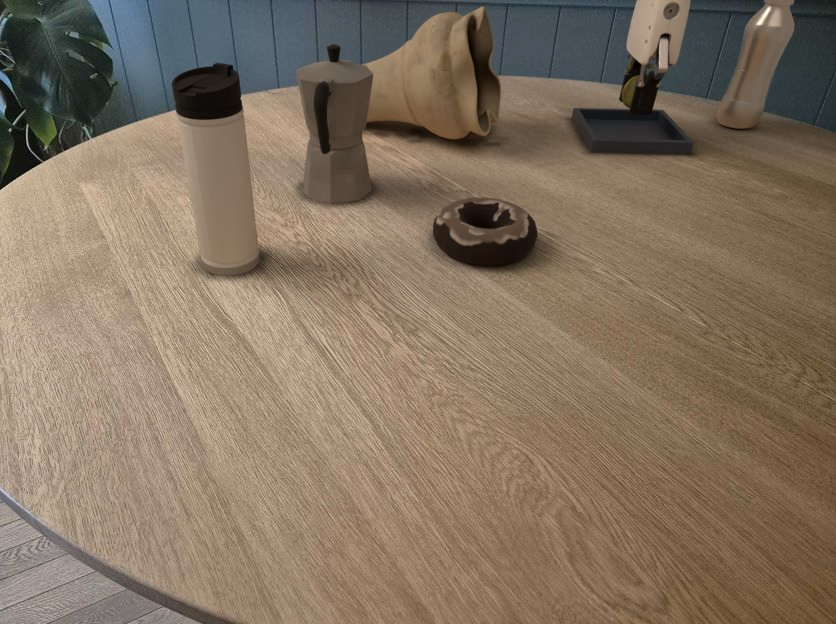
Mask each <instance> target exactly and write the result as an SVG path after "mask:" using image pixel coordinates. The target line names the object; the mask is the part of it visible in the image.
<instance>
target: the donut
mask: <svg viewBox="0 0 836 624" xmlns="http://www.w3.org/2000/svg"><path fill="white" fill-rule="evenodd" d="M432 236H433V238H434V240H435V242H436V244H437V246H438V247H439V249H441V250H442V252H444V253H445V254H447V255H448V256H449V257H451V258H454V259H455V260H457V261H460V262H463V263H467V264H471V265H478V266H485V267H487V266H501V265H502V266H503V265H507V264H512V263H514V262H516V261H519V260H521V259H523V258H524V257H525V256H527V255H528V254H529V253H530V252H532V250H533V248H534V246H535V244H536V241H537V239H538V228H537V224H536V221H535V219H534V218H533V217H532V216H531V214H530V213H529V212H528V211H527V210H526V209H524V208H522V207H521V206H520V205H517V204H515V203H513V202H510V201H508V200H503V199H500V198H495V197H494V198H493V197H468V198H463V199H459V200H456V201H453V202H451V203H449V204H447V205H445V206H444V207H443V208H442V209H440V210H439V212H438V213H437V215H436V216H435V218H434V219H433V223H432Z"/></svg>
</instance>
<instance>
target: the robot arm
mask: <svg viewBox="0 0 836 624" xmlns="http://www.w3.org/2000/svg"><path fill="white" fill-rule="evenodd" d="M634 5H635V6H634V8H633V9H634V10H633V12H632V17H631V20H630V25H629V29H628V34H627V39H626V44H625V45H626V46H625V47H626V51H627V52H628V56H627V58H628V60H627V64H626V66H625V70H624V72H625V74H624V75H623V81H622V85H621V89H620V93H619V94H620V95H619V97H618V100H619V102H620V103H623V100H622V91H623V88H624V86H625V85H626V83H627V82H628V81H629V80H630V79H631V78H632V77H634V76H637V75H640V78H639V84H638V86H635V90H634V94H633V98H632V102H631V106H630V108H629V109H630V110H629V113H630V114H631V115H650V114H651V113H652V110H654V106H655V103H656V99H657V95H658V91H659V88H661V83H662V80H663V78H664V77H665V75H666V74H667V73H668V70H669V67H674V66H675V65H676V64H677V63H678V60H679V57H680V52H681V49H682V44H683V40H684V36H685V31H686V27H687V23H688V17H689V12H690V7H691V0H636V2H635V4H634ZM652 60H653V61H655V63H650V61H652ZM649 69H650V71H649V72H648V70H649Z"/></svg>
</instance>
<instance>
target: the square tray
mask: <svg viewBox="0 0 836 624" xmlns="http://www.w3.org/2000/svg"><path fill="white" fill-rule="evenodd" d="M629 110H630V108H597V107H595V108H593V107H592V108H591V107H573V108H572V114H571V118H570V119H571V122H572V123H573V125H574V127H575V128H576V130H577V132H578V134H579V136H580V137H581V139H582V141H583V142H584V144H585V145H586V147H587V149H588V151H589V152H590V154H618V155H619V154H621V155H622V154H623V155H624V154H625V155H627V154H628V155H665V156H666V155H670V156H676V155H677V156H691V154H692V150H693V147H694V145H695V142H694V141H693V140H692V139H691V137H689V135H688V134H686V132H685V131H684V130H683V129H682V128H681V127H680V126H679V125H678V123H676V122H675V121H674V119H672V118H671V117H670V115H669V114H668V113H667V112H666V111H665V110H664V109H653V110H652V113H651V114H650V115H631V114H630V113H629Z"/></svg>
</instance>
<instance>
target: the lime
mask: <svg viewBox="0 0 836 624" xmlns="http://www.w3.org/2000/svg"><path fill="white" fill-rule="evenodd" d="M639 78H640V75H637V76H634V77H632V78H631V79H630V80H629V81H628V82H627V83H626V85H625V86H624V88H623V91H622V100H623V102H622V103H623V105H624V106H625V107H626V108H627V109H630V106H631V102H632V98H633V94H634V90H635V86H638V84H639Z"/></svg>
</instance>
